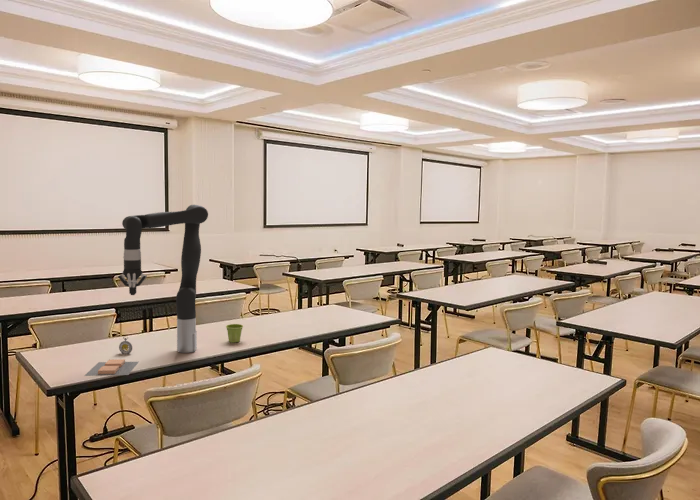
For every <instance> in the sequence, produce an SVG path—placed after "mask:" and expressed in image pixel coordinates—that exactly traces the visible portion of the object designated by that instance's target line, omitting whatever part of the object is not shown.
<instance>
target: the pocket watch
mask: <svg viewBox="0 0 700 500" xmlns="http://www.w3.org/2000/svg"><path fill="white" fill-rule="evenodd" d="M122 339H124V340H123V341H121V342H120V343H119V345H118V350H119V351H120V353H121V354H122V355H123V354H124V355H129V354H130V353H131V352H132V351H133V344H132V343H131V342H130V341H127V340H128V339H129V337H128V336H126V335H124V336H123V337H122Z"/></svg>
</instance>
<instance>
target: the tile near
mask: <svg viewBox="0 0 700 500" xmlns="http://www.w3.org/2000/svg"><path fill="white" fill-rule="evenodd" d="M118 370H119V366H102V367H101V368H100V369H99V370H98V374H115V373H116V372H117V371H118Z"/></svg>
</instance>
